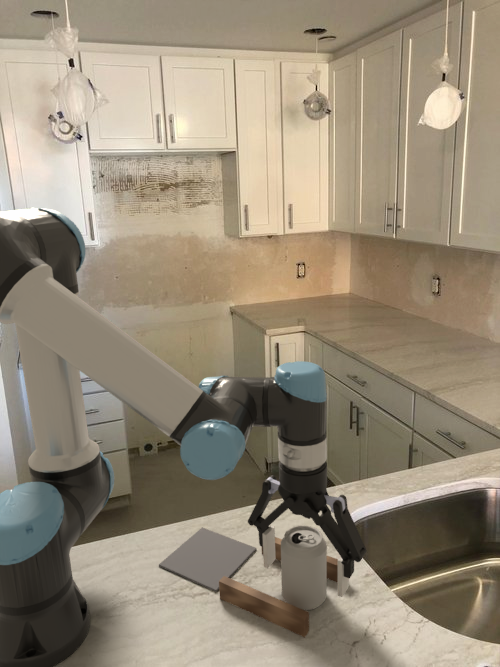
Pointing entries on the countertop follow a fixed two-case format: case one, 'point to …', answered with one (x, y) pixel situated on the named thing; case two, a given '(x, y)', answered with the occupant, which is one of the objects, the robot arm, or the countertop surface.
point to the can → (304, 567)
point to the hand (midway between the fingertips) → (305, 576)
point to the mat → (208, 558)
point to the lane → (272, 599)
